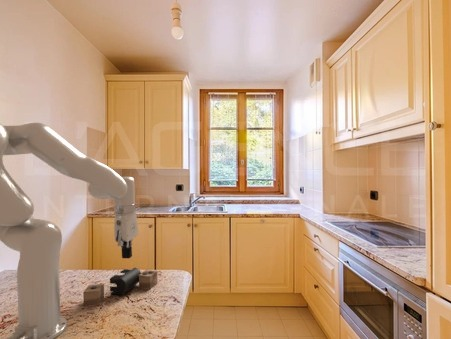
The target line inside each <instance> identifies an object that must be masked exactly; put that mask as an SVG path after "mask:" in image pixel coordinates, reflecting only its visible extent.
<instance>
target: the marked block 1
mask: <svg viewBox="0 0 451 339" xmlns="http://www.w3.org/2000/svg"><path fill="white" fill-rule="evenodd" d="M82 293H83V294H82V295H83V307H85V308H86V307H94V306H100V305H101V304H102V303H103V300H104V299H105V283H99V284H98V283H97V284H89V285H88V286H87V287H86V288H85V290H83V292H82Z"/></svg>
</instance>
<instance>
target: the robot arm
mask: <svg viewBox="0 0 451 339" xmlns="http://www.w3.org/2000/svg"><path fill="white" fill-rule="evenodd" d="M28 154H32V155H34V156H35V157H36V158H38V159H39V160H41V161H42V162H44V163H46V164H47V165H48V166H50V167H51V168H53V169H54V170H55V171H57V172H58V173H60V174H62V175H64V176H66V177H69V178H71V179H75V180H79V181H84V182H86V183H88V184H89V185H88V186H87V187H88V188H87V189H88V190H87V191H88V192H89V195H90V196H91V197H92V198H95V199H98V200H99V199H100V200H113V211H114V226H113V229H114V230H113V232H114V235H113V236H114V240H115V242H116V243H117V247H120V249H121V258H122V259H131V258H132V257H133V240H134V238H136V237H137V236H138V234H139V226H138V225H139V224H138V217H137V212H136V211H137V210H136V191H135V190H136V186H135V184H136V183H135V178H134V177H132V176H120V174H118V172H116V171H115V170H113V169H112V168H111V167H109V166H107V165H106V164H104V163H102V162H100V161H98V160H96V159H94V158H92V157H91V156H89V155H86V154H84V153H83V152H82V151H80V150H79V149H78V148H76V147H75V146H74V145H72V144H71V143H70V142H69V141H67V140H66V139H65V138H64V137H63V136H61V135H60V134H59V133H57V131H55V130H54V129H52V128H51V127H50V126H48V125H46V124H45V123H42V122H29V123H26V124H21V125H19V124H18V125H2V124H1V123H0V242H2V243H3V244H4V245H5V246H6V247H8V248H9V249H11V250H13V251H17V252H19V260H18V264H17V268H16V269H17V271H16V283H17V317H18V318H17V319H18V320H17V322H18V323H17V324H18V325H17V326H15V327H14V332H13V333H12V334H11V335H10V337H8V338H7V339H55V338H57V337H58V336H60V335H61V334H63V332H64V331H65V330H66V328H67V326H68V321H67V318H65V317H63V316H61V286H60V285H61V283H60V282H61V281H60V255H61V254H60V253H61V249H62V248H61V247H62V242H63V235H62V231H61V229H60V228H59V226H58V225H57V224H56V223H53V222H52V221H49V220H45V219H40V218H39V219H38V218H35V217H33V214H34V211H35V206H34V203H33V200H32V199H31V198H30V196H28V194H27V193H25V191H24V190H23V189H22V188H21V187H20V185H18V184H17V182H16V181H15V180H14V179H13V177H12V176H11V175H10V173H9V172H8V170H7V169H6V167H5V165H4V161H3V157H4V156H15V155H16V156H17V155H28Z"/></svg>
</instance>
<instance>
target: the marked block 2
mask: <svg viewBox="0 0 451 339" xmlns="http://www.w3.org/2000/svg"><path fill="white" fill-rule="evenodd" d="M156 285H158V270H152V269H151V270H149V269H146V270H145V271H143V272H141V274H140V275H139V282H138V288H139V289H145V290H151V289H153V288H154V287H156Z"/></svg>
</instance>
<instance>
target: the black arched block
mask: <svg viewBox="0 0 451 339" xmlns="http://www.w3.org/2000/svg"><path fill="white" fill-rule="evenodd" d="M141 273H142V272H141V270H140V269H138V268H137V267H134V268H132V269H126V268H123V270H121V271H120V274H114V275H113V276H111V277H110V278H109V284H113V285H114V284H115V285H116V286H113V285H111V286H109V291H110V295H111V296H117V297H122V296H123V295H125V294H126V293H127V292H128V291H130V290H131V289H133V288H134V287H135V286H136V285H138V284H139V275H140V274H141Z"/></svg>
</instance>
